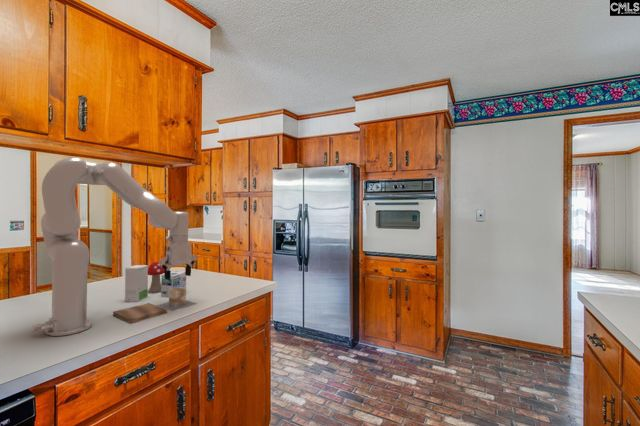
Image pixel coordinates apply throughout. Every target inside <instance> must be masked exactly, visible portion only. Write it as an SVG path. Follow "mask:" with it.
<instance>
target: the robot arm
mask: <svg viewBox="0 0 640 426" xmlns="http://www.w3.org/2000/svg"><path fill="white" fill-rule="evenodd" d="M77 185H89V186H90V185H91V186H92V185H93V186H94V185H95V186H106V187H107V188H108V189H110V190H111V191H112V192H113V193H114V194H116V196H118V197H119V198H120V199H121V200H122V201H124V202H125V203H126V204H128V205H129V206H131V207H133V208H135V209H138V210H140V211H142V212H144V213H145V214H146V215H148V223H149V225H150V226H152V227H153V228H156V229H163V230H169V236H168V237H166V240H167V241H168V243H167V245H166V250H165V251H166V252H165V256H164V257H163V258H161V259H160V260H158V262H159V264H160V265H161V267H162V268H163V270H165V273H163V275H164V277H165V279H167V280H170V278H171V272H172V271H171V268H172V267H176V266H183V265H185V271H184V272H185V275H186V277H191V275H192V274H191V273H192V267H193V265H194V264H195V262H196V260H197V256H195V255H194V254H192V248H191V242H190V241H189V213H188V212H187V211H174V210H172V209H171V207H170V206H168V205H167V204H166V203H165V202H164V201H162V200H161V199H159V198H158V197H157V196H156V195H154V194H153V193H152V192H150V191H148V189H145V188H144V187H143V186H142V185H141V184H140V183H139V182H138V181H137V180H136V179H135V178H134V177H132V176H131V175H130V174H129V173H128V172H127V171H126V170H125V169H124V168H123V167H122V166H121V165H119V164H118V163H116V162H111V161H110V162H108V161H107V162H103V163H102V162H101V163H96V162H86V161H85V160H84V159H82V158H79V157H76V156H75V157H73V156H72V157H66V158H63V159H61V160H59V161H56V162H55V163H54V165H53V166H52V167H50V168H49V169H48V170H47V172H46V174H45V175H44V177H43V179H42V182H41V196H42V202H43V207H44V214H43V215H42V217H41V220H40V227H41V232H42V236H43V241H44V244H45V249H46V252H47V256H48V257H49V258H50V259H51V261H52V262H53V266H52V267H53V269H52V277H51V278H52V279H51V282H52V283H51V287H52V290H51V292H52V293H51V317H49V318H48V320H47V321H45V322H43V323H38V324H34V325H32V331H33V332H36V331H39V330H40V332H43V331H44V333H45V334H46V335H47V336H51V337H60V336H69V335H73V334H79V333H81V332H84V331H86V330H88V329H89V328H91V327H92V325H93V323H92V320H90V319H87V313H88V312H87V311H88V309H87V308H88V271H89V263H90V255H91V254H90V249H89V247H88V245H86V243H85V242H83V241H82V240H79V238H78V231H79V230H80V227H81V223H82V222H81V219H80V218H81V217H80V214H79V209H78V205H77V201H76V187H77Z"/></svg>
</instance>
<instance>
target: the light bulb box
mask: <svg viewBox="0 0 640 426" xmlns="http://www.w3.org/2000/svg"><path fill="white" fill-rule="evenodd" d="M160 282H161V291H160V293H161V295H160V296H161V297H162V298H169V289H172V288H177V287H182V288H186V289H187V275H185V271H178V270H174V271H171V278H170V280H167V279H165V277H164V274H161V279H160Z"/></svg>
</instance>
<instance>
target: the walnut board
mask: <svg viewBox="0 0 640 426" xmlns="http://www.w3.org/2000/svg"><path fill="white" fill-rule="evenodd" d="M167 313H168V309H166V308H163V307H161V306H158V305H155V304H152V303H149V302H148V303H144V304H143V303H142V304H140V305H136V306H135V305H134V306H132V307H128V308H127V307H126V308H123V309H119V310H114V311H112V316H113V317H115V318H118V319H120V320H122V321H124V322H126V323H129V324H135V323H136V322H140V321H143V320H147V319H150V318H155V317H157V316H158V317H159V316H162V315H165V314H167Z"/></svg>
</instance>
